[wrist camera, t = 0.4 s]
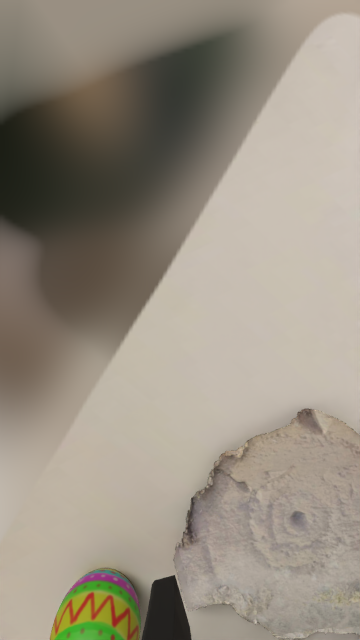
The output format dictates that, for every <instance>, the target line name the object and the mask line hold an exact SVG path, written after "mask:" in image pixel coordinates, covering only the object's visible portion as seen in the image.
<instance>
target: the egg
mask: <svg viewBox="0 0 360 640" xmlns="http://www.w3.org/2000/svg"><path fill="white" fill-rule="evenodd" d="M140 628H141V615H140V606H139V602H138V598H137V595H136V592H135V590H134V588H133V586H132V584H131V583H130V582H129V580H128V579H127V578H126V577H125V576H124V575H123V574H121V573H120V572H118V571H116V570H113V569H107V568H104V569H97V570H94V571H92V572H90V573H88V574H86V575H85V576H83V577H82V578H81V579H80V580H78V581H77V582H76V583H75V584H74V585H73V587H72V588H71V589H70V590H69V592H68V593H67V595H66V596H65V598H64V600H63V601H62V603H61V605H60V608H59V610H58V612H57V615H56V617H55V620H54V624H53V627H52V631H51V636H50V640H139V638H140Z"/></svg>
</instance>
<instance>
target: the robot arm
mask: <svg viewBox="0 0 360 640" xmlns="http://www.w3.org/2000/svg"><path fill="white" fill-rule="evenodd" d="M142 640H191V633H190V626H189V623H188V619H187V616H186V612H185V609H184V605H183V602H182V598H181V595H180V591H179V588H178V585H177V581H176V578H175V575H173V576H170V577H166V578H162V579H159V580H155V581H154V582H153V584H152V588H151V595H150V601H149V607H148V612H147V617H146V622H145V627H144V631H143V636H142Z"/></svg>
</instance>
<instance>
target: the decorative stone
mask: <svg viewBox="0 0 360 640" xmlns="http://www.w3.org/2000/svg"><path fill="white" fill-rule="evenodd" d="M297 415H298V416H297V418H296V419H295V418H294V419H293V420H292V421H291V423H290V425H288V426H286V427H284V428H280V429H277V430H275V431H273V432H270V433H268V434H267V433H265V434H261V435H258V436H255V437H254V438H252V439H250V440H248V441H247V442H246V443H245V447H243V446H242V447H240V448H238V450H237V451H233V450H232V451H226V452H225V453H224V454H221V456H220V457H219V459H220V460H219V461H216V462H215V463H214V470H212V471H211V473H209V478H208V485H207V486H206V487H205V489H203V490H201V491H198V492H196V494H195V496H194V497H193V498H191V505H190V510H188V513H187V518H186V532H183V538H182V543H177V544H176V549H175V551H176V552H175V555H174V560H173V561H174V562H175V568H176V570H177V571H178V572H177V575H178V580H179V582H180V587H181V592H182V595H183V599H184V600H183V601H185V603H186V608H187V610H188V611H191V610H194V609H195V610H197V609H198V608H200V607H206V605H207V606H208V605H213V604H221V603H222V604H229V605H231V606H233V609H235V611H237V613H238V615H240V616H241V617H242V618H244V619H246V620H247V621H249V622H251V623H254V624H255V625H256V624H257V623H259V624H262V625H263V627H264V628H266V629H267V630H268V631H270V632H271V633H272V634H273V636H274V637H275V636H276V637H278V638H285V637H286V638H290V639H291V640H292V639H295V638H300V639H301V638H305V637H307V638H308V636H309V635H312V634H313V633H314V632H318V631H322V632H325V635H326V634H327V632H331V633H340V634H346V633H348V634H349V633H352V632H354V633H355V634H356V633H357V635H359V634H360V435H359V434H357V433H356V432H355V431H353V429H351V428H350V427H349V426H347V425H346V423H344V422H343V421H339V420H338V418H337V419H336V418H334V417H333V416H329V415H327V414H325V413H323V412H322V411H318V410H316V411H315V410H312V409H304V410H302V411H300V412H298V413H297Z"/></svg>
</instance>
